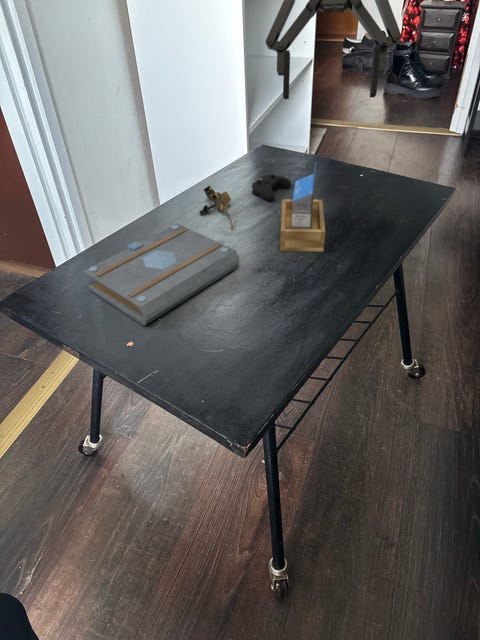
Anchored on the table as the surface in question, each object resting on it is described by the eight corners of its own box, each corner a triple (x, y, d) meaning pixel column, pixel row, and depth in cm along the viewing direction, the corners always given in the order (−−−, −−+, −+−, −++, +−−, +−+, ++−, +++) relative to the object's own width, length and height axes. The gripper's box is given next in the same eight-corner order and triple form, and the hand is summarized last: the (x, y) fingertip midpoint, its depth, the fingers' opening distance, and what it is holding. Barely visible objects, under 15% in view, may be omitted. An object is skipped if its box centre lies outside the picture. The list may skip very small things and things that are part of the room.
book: (148, 330, 73) (142, 305, 70) (87, 290, 82) (80, 265, 79) (239, 271, 85) (238, 247, 82) (178, 241, 94) (175, 218, 90)
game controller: (273, 200, 104) (257, 177, 103) (259, 212, 108) (243, 190, 107) (294, 183, 110) (278, 162, 109) (280, 195, 114) (264, 175, 113)
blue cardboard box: (293, 218, 98) (295, 159, 90) (312, 219, 97) (316, 160, 89) (290, 241, 91) (292, 179, 83) (310, 242, 90) (314, 179, 82)
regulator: (248, 229, 98) (224, 190, 107) (243, 216, 95) (218, 176, 104) (216, 246, 98) (194, 205, 107) (209, 233, 95) (188, 192, 104)
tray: (320, 218, 99) (322, 199, 96) (323, 251, 89) (325, 231, 86) (281, 218, 100) (282, 199, 97) (280, 251, 90) (280, 230, 87)
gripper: (421, -57, 71) (406, 98, 77) (255, -46, 75) (254, 101, 81) (432, -83, 64) (415, 91, 70) (249, -69, 68) (247, 94, 74)
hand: (328, 97), depth 75 cm, fingers open, 13 cm apart
